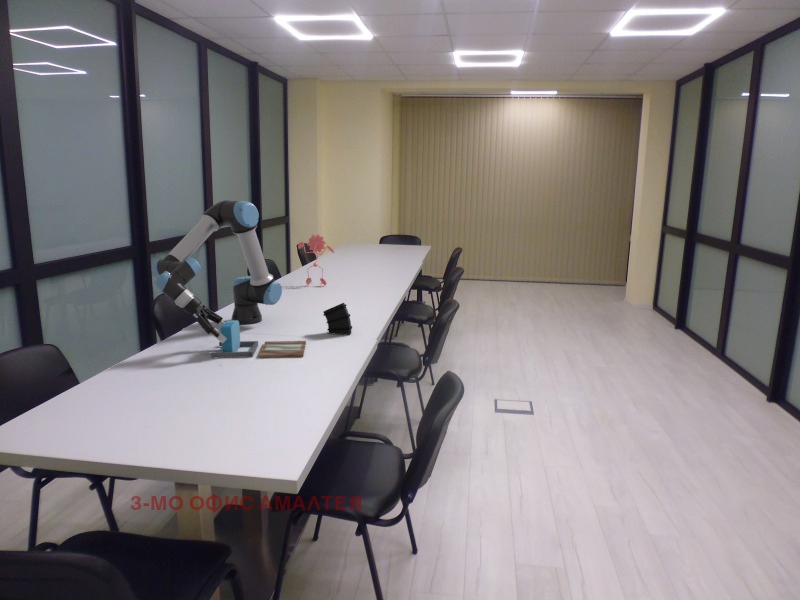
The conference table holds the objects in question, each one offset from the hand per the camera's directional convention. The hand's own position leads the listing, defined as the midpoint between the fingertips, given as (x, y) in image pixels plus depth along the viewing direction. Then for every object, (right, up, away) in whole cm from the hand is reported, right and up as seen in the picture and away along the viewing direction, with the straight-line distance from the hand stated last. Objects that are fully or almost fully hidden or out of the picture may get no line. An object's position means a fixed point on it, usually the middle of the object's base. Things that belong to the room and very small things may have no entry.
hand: (228, 336), depth 242 cm
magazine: (+43, -1, +31) cm, 53 cm away
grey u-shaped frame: (+3, -6, +2) cm, 7 cm away
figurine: (+16, +26, +150) cm, 153 cm away
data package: (+1, -6, +1) cm, 6 cm away
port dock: (+23, -6, +4) cm, 24 cm away
